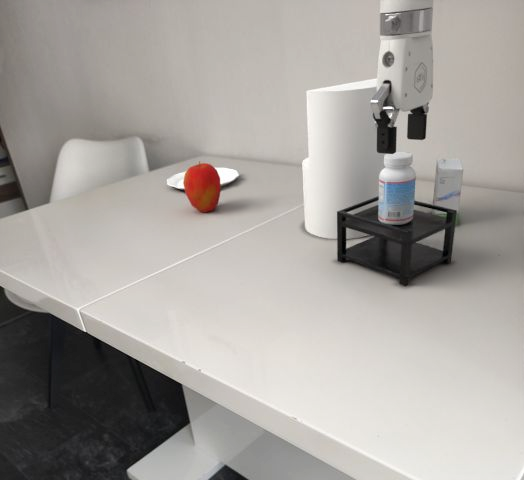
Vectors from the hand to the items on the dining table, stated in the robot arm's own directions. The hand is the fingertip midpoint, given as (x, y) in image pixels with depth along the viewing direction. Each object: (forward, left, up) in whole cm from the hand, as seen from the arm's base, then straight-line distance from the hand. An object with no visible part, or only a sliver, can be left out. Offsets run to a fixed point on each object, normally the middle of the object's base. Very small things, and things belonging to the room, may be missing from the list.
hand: (401, 145), depth 89 cm
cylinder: (+19, -12, -21) cm, 31 cm away
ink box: (+2, -25, -21) cm, 33 cm away
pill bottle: (0, 0, -13) cm, 13 cm away
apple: (+55, -4, -21) cm, 59 cm away
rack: (0, 0, -21) cm, 21 cm away
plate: (+74, -21, -21) cm, 80 cm away
